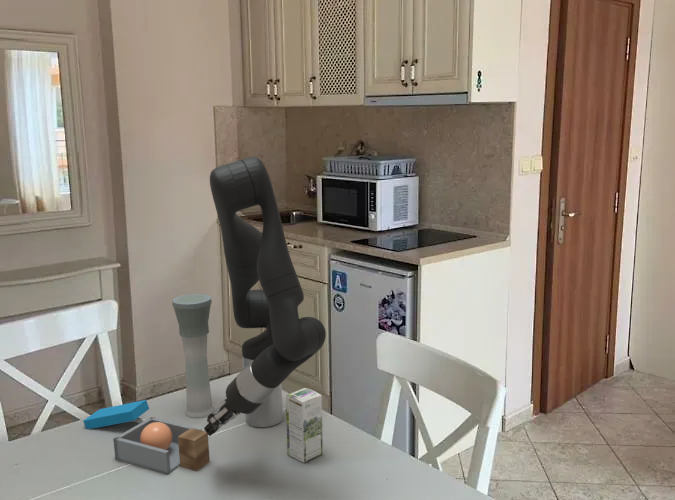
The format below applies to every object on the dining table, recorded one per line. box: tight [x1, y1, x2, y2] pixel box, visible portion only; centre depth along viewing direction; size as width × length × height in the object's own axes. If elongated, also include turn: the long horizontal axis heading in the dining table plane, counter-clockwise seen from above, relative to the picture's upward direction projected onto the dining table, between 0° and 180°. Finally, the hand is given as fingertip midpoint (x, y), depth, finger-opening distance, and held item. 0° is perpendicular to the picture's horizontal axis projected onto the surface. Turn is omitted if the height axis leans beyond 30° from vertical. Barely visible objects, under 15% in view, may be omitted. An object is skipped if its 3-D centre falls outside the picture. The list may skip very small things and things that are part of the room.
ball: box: [140, 422, 172, 450], centre depth 152 cm, size 7×7×7 cm
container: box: [171, 293, 215, 419], centre depth 171 cm, size 10×10×30 cm
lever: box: [82, 399, 156, 430], centre depth 167 cm, size 7×7×18 cm
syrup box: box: [285, 387, 324, 464], centre depth 149 cm, size 6×6×14 cm
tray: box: [112, 416, 203, 475], centre depth 152 cm, size 15×12×5 cm
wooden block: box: [178, 428, 211, 472], centre depth 147 cm, size 4×4×7 cm
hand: (208, 431), depth 144 cm, fingers closed
